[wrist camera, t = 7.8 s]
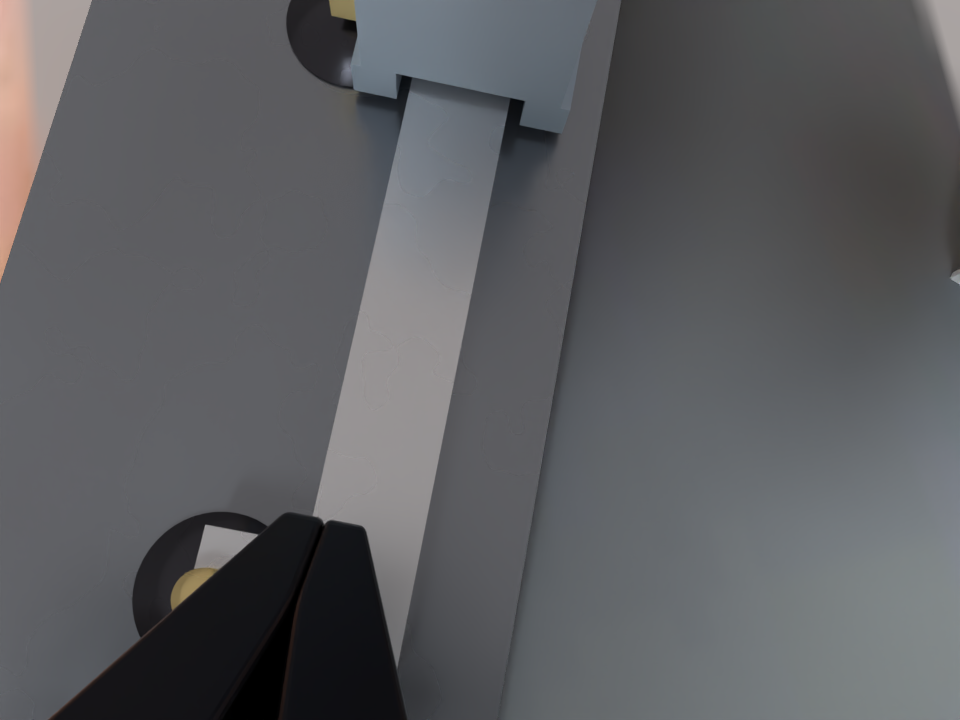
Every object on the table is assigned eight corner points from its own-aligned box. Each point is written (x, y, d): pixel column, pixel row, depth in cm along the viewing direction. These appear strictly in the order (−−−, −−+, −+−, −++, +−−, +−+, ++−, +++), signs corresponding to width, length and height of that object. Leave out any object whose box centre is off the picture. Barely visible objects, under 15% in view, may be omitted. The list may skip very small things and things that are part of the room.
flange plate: (446, 993, 16) (450, 1053, 14) (-177, 884, 15) (-257, 930, 13) (628, -61, 21) (650, -122, 19) (159, -164, 20) (134, -236, 18)
